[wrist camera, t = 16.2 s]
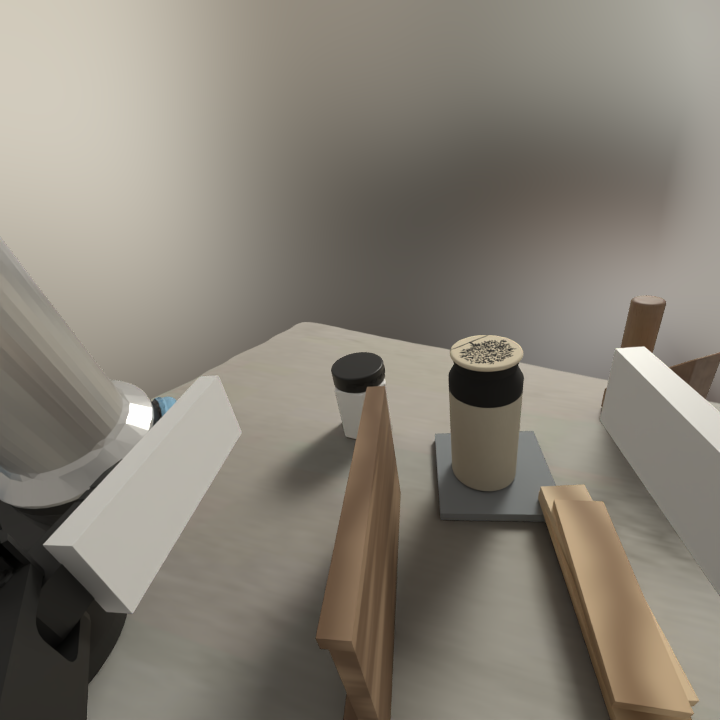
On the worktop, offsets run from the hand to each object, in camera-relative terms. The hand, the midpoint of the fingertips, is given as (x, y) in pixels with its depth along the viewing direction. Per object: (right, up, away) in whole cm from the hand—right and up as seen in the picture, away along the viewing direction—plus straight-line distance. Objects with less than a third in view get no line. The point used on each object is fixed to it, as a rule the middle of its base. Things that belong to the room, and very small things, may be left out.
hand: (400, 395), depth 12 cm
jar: (0, -10, +49) cm, 50 cm away
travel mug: (+15, -13, +35) cm, 41 cm away
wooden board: (+2, -23, +25) cm, 34 cm away
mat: (+16, -14, +36) cm, 42 cm away
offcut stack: (+21, -20, +21) cm, 36 cm away
